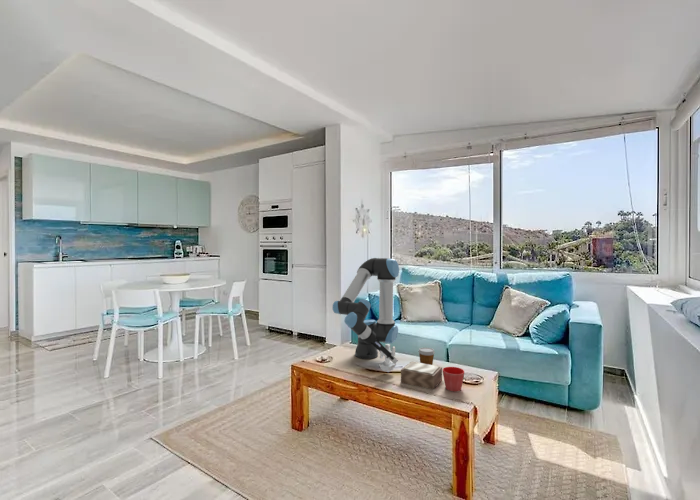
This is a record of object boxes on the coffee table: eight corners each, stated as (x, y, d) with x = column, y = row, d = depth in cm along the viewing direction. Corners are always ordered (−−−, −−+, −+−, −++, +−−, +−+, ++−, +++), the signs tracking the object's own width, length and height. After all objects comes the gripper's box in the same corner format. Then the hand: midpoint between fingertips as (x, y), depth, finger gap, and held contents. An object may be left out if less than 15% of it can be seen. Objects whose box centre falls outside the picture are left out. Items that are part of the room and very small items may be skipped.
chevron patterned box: (400, 382, 199) (400, 368, 199) (410, 373, 212) (410, 360, 212) (433, 389, 190) (433, 374, 190) (441, 379, 203) (442, 366, 203)
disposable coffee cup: (416, 370, 217) (416, 350, 216) (420, 366, 225) (421, 346, 225) (432, 373, 212) (432, 352, 212) (436, 368, 221) (436, 348, 220)
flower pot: (451, 394, 184) (452, 375, 184) (438, 386, 194) (438, 368, 194) (468, 391, 188) (468, 372, 188) (454, 383, 198) (454, 365, 198)
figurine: (383, 366, 217) (383, 341, 217) (397, 370, 212) (398, 344, 211) (376, 370, 211) (377, 344, 211) (391, 374, 206) (391, 347, 205)
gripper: (355, 335, 215) (380, 359, 222) (369, 345, 196) (396, 371, 202) (364, 325, 217) (388, 349, 223) (378, 334, 197) (405, 360, 203)
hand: (392, 359), depth 213 cm, fingers closed on figurine, 8 cm apart
